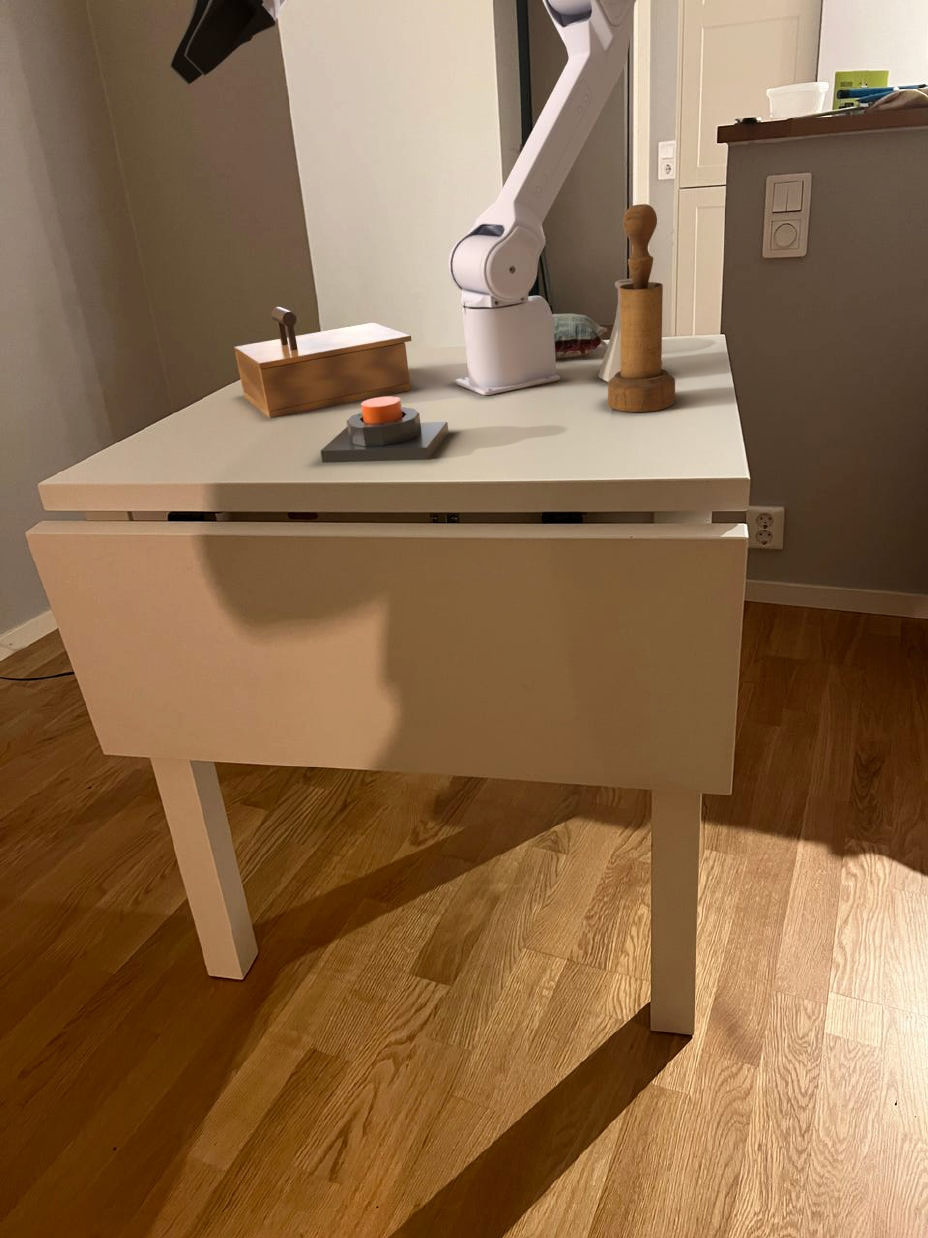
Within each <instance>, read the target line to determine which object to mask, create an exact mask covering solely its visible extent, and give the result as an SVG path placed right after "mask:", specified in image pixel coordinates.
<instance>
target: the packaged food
mask: <svg viewBox="0 0 928 1238" xmlns="http://www.w3.org/2000/svg"><path fill="white" fill-rule="evenodd" d="M552 316H553V322H554V338H555V357H556V360H558V359H566V358H575V357H582V356H585V355H588V354H589V353H591V352H593V351H595V350H596V349H597V348H598V347H599V346H601V345H602V347H605V348H607V343H606V341H604V340H603V338H602V337H601V335H603V333H606V332H608V328H607V327H603V326H600V325H599V324H598V323H597V322H596V321H594V320H593V319H592V318H591V317H589V316H587V315H585V314H577V313H552Z"/></svg>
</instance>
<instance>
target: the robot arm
mask: <svg viewBox="0 0 928 1238" xmlns="http://www.w3.org/2000/svg"><path fill="white" fill-rule="evenodd" d="M287 1H288V0H193V6H192V11H191V15H190V18H189V22H188V24H187V27H186V29H185V31H184V33H183V35H182V38H181V40H180V41H179V43H178V45H177V47H176V49H175V52H174V54H173V56H172V58H171V61H170V65H169V67H170V69H172V70H173V72H175V73H176V74H177V75H178V76H179V77H180V78H181V80H183V81H184V82H185V83H186V84H187V85H190V84H192V83H193V82H195V81H197V80H198V79H199V78H201V76H204V77H205V76H206V75H208V74H209V73H211V72H212V71H213V70H215V69H216V68H217V67H218V66H220V65H221V64H222V63H223V62H224V61H225V60H226V59H227V58H228V57H230V56H231V54H233V53H234V52H235V51H236V50H237V49H238V48H239V47H240V46H243V45H245V44H248V43H249V42H251V41H252V39H253V38H254V37H255V36H256V35H258V34H260V33H262V32H265V31H268V30H270V29H272V28H274V27H276V20H277V18H278V17H279V16H280V14H281V9H282V8H283V7H284V5H285V4H286V2H287ZM542 2H543V5H544V7H545V9H546V11H547V13H548V15H549V16H550V19H551V20H552V23H553V24H554V27H555V28H556V31H557V32H558V34H559V36H560V39H561V40H562V43H564V46H565V48H566V51H567V56H568V61H567V63H566V64H565V66H564V68H563V71H562V72H561V74H560V76H559V78H558V80H557V82H556V84H555V86H554V88H553V90H552V92H551V93H550V96H549V98H548V99H547V102H546V103H545V105H544V107H543V109H542V111H541V113H540V115H539V117H538V119H537V121H536V122H535V125H534V127H533V129H532V131H531V132H530V134H529V136H528V138H527V140H526V142H525V144H524V146H523V148H522V150H521V151H520V154H519V156H518V158H517V160H516V162H515V164H514V166H513V167H512V170H511V171H510V173H509V176H508V177H507V179H506V181H505V183H504V185H503V187H502V189H501V190H500V193H499V195H498V196H497V199H496V200H495V201H494V202H493V203H492V204H491V205H490V206H489V207H488V208H487V209H486V210H485V211H484V212H482V213H481V214H480V215H479V216H478V217H477V218H476V219H475V222H474V224H473V226H472V227H471V229H470V230H469V232H467V233H466V234H465V235H463V236H462V237H461V238H459V239H458V240H457V241H456V242H455V243H454V245H453V247H452V249H451V250H450V253H449V258H448V272H449V276H450V278H451V280H452V283H453V284H454V285H455V286H456V287H457V289H459V290H460V291H461V299H460V302H461V311H462V312H461V313H462V323H463V334H464V343H465V344H464V345H465V354H466V355H465V356H466V366H467V367H466V368H467V376H466V377H460V378H456V379H455V381H454V382H455V384H456V385H458V386H460V387H462V388H465V389H467V390H470V391H472V392H475V393H477V394H480V395H482V396H490V395H495V394H500V393H504V392H510V391H515V390H519V389H523V388H528V387H529V388H530V387H533V386H538V385H543V384H547V383H552V382H556V381H557V382H558V381H560V380H561V376H560V375H559V374H557V361H556V360H557V359H556V357H555V338H554V322H553V316H552V314H553V313H552V310H551V306H550V305H549V303H548V301H547V300H546V299H545V298H544V297H542V296H540V295H530V296H529V293H530V291H531V290H532V288H533V287H534V285H535V282H536V280H537V276H538V269H539V268H538V267H539V260H540V257H541V254H542V252H543V250H544V248H545V246H546V242H547V241H546V236H545V233H544V229H543V223H544V221H545V218H546V217H547V215H548V213H549V211H550V209H551V207H552V206H553V204H554V202H555V200H556V198H557V196H558V194H559V192H560V191H561V188H562V187H563V185H564V183H565V181H566V179H567V177H568V175H569V173H570V171H571V169H572V168H573V166H574V164H575V162H576V160H577V158H578V156H579V154H580V152H581V150H582V149H583V146H584V145H585V143H586V141H587V140H588V137H589V135H590V134H591V131H592V129H593V127H594V126H595V124H596V122H597V120H598V118H599V116H600V114H601V112H602V110H603V108H604V107H605V105H606V103H607V101H608V99H609V97H610V95H611V94H612V92H613V89H614V87H615V85H616V84H617V82H618V80H619V78H620V76H621V74H622V72H623V70H624V69H625V66H626V63H627V59H628V54H629V46H630V40H631V39H630V38H631V31H632V25H633V18H634V11H635V4H636V3H637V0H542Z"/></svg>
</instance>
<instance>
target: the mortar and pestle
mask: <svg viewBox="0 0 928 1238" xmlns="http://www.w3.org/2000/svg"><path fill="white" fill-rule="evenodd" d="M622 220H623V221H622V227H623V230H624V233H625V234H626V235H627V236H626V237H627V238H628V240H629V242H630V243H631V247H632V250H631V255H630V257H629V258H628V259H627V263H628V269H629V274H630V277H631V279H632V280H633V283H630V284H624V285H621V286H620V331H621V371H619V372H617V373H616V374H615V375H614V377H613V378H612V379H610V380H609V382H607V404H608V407H609V408H611V409H614V410H615V411H620V412H627V413H645V412H647V413H649V412H655V411H661V410H664V409H667V408H669V407H672V406H673V405H674V404H675V402H676V378H675V377H674V376H672V375H671V374H670V373H669V372H668V371H667V370H666V369H665V368H664V369H665V370H664V369H662V363H663V361H662V357H663V355H662V354H663V351H662V350H663V300H664V299H663V295H664V294H663V292H664V291H663V290H664V289H663V287H664V285H663V283H661V282H655V281H650V277H651V274H652V269H653V265H654V256H652V255H651V254H650V252H649V244H650V241H651V239H652V237H653V235H654V233H655V231H656V228H657V225H658V216H657V212H656V211H655V209H654V208H653V207H652V205H650V204H647V203H642V204H634V205H632V206H630V207H628V209H627V210H626V211H625V214H624V215H623V218H622Z"/></svg>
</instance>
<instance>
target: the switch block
mask: <svg viewBox="0 0 928 1238" xmlns="http://www.w3.org/2000/svg"><path fill="white" fill-rule="evenodd" d="M401 408H402V415H403V418H401V419H398V420H395V421H390V422H385V423H364V420H363V414H362V411H361V412H358V413H356V414H353V415H350V417H349V418H348V419H347V420H346V427H345V428H343V430H342V431H340V433H339V434H338V435H336V436H335V437H334V438H333V439H332V440H331V441H330V442H329V443H327V444H326V445H325V446H324V447H323V448H322V449H320V451H319V452H320V458H321V462H322V463H323V464H324V463H356V462H357V463H359V462H360V463H361V462H393V461H394V462H395V461H398V462H399V461H429V459H431V457H432V456H433V454H434V453H435V452H436V451H437V449H438V448H439V446H441V444H442V443H443V441H444V440H445V439H446V438H447V436H448V435H449V434H450V433H449V423H448V421H434V422H432V421H431V422H429V421H428V422H421V417H420V412H419V411H418V410H417V409H416V408H412V407H405V406H401Z"/></svg>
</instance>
